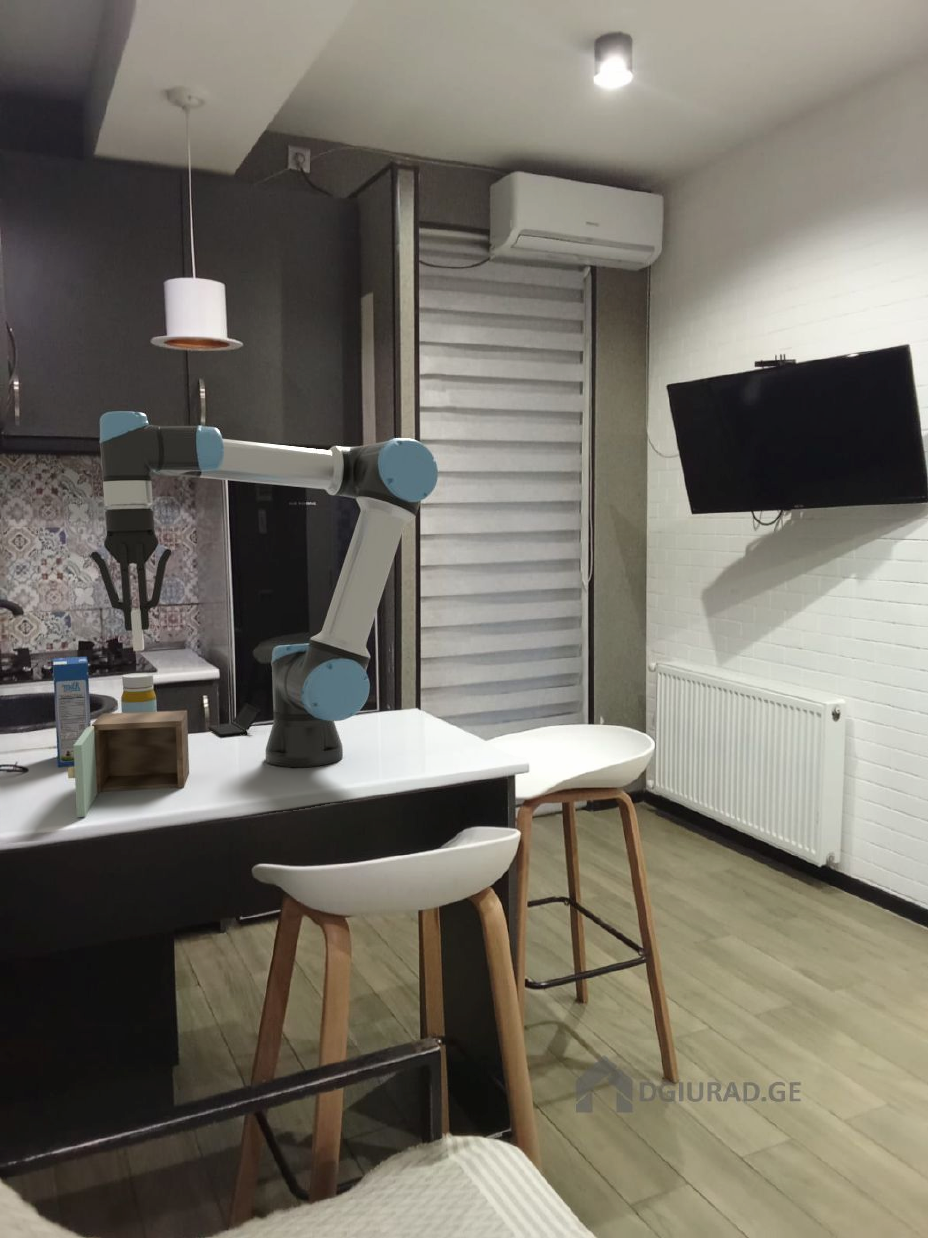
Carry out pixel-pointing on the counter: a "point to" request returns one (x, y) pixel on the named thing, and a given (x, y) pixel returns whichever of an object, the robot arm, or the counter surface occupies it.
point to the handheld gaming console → (237, 723)
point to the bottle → (138, 693)
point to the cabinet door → (84, 771)
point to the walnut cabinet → (141, 750)
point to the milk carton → (70, 705)
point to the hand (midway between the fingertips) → (138, 649)
